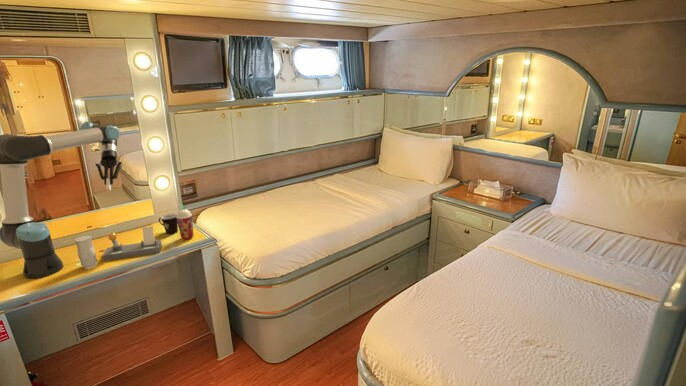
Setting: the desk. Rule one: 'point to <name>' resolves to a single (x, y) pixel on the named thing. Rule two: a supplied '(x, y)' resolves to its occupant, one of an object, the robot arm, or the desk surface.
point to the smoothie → (185, 224)
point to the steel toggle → (114, 240)
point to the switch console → (132, 250)
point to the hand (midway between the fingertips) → (108, 189)
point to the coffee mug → (170, 223)
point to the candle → (86, 252)
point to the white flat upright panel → (148, 235)
